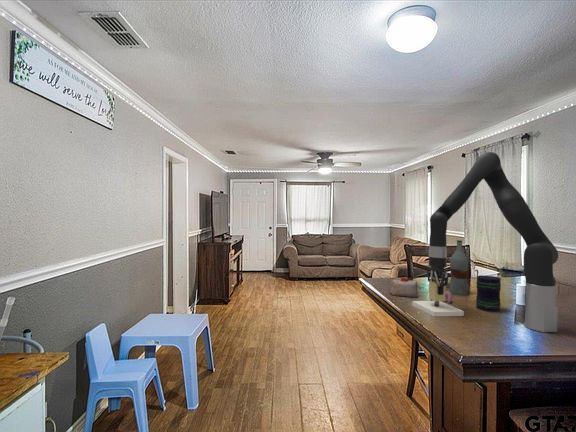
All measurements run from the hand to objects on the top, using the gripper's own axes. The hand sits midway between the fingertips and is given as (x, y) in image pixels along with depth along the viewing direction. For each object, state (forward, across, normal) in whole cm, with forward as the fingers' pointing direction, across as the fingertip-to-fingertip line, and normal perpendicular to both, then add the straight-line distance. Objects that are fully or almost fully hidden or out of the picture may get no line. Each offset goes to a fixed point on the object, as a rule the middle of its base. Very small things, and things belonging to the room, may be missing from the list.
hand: (436, 293), depth 152 cm
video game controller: (+8, +16, -12) cm, 22 cm away
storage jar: (+8, 0, -26) cm, 27 cm away
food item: (+8, +28, +1) cm, 30 cm away
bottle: (+8, +31, -33) cm, 46 cm away
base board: (+8, 0, 0) cm, 8 cm away
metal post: (+6, 0, 0) cm, 6 cm away
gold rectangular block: (+3, 0, 0) cm, 3 cm away
